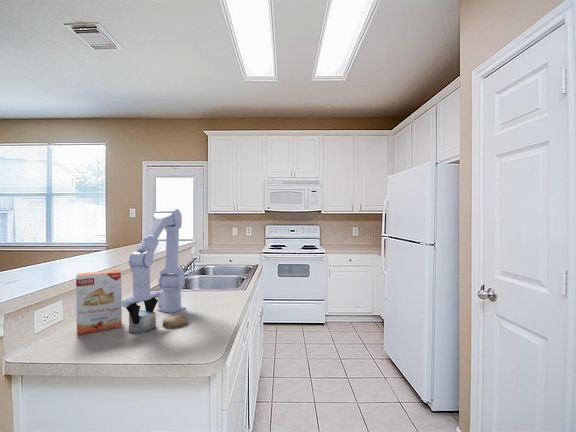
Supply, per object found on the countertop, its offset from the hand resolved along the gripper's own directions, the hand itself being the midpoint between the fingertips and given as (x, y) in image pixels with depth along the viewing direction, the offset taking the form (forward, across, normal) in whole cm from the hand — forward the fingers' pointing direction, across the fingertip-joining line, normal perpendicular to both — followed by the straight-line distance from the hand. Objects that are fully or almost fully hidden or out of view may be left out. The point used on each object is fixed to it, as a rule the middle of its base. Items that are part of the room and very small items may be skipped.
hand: (142, 321), depth 115 cm
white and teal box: (+1, 0, 0) cm, 1 cm away
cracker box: (+3, -7, +14) cm, 16 cm away
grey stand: (+3, 0, 0) cm, 3 cm away
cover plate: (-2, 0, 0) cm, 2 cm away
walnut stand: (+3, +9, -7) cm, 12 cm away
